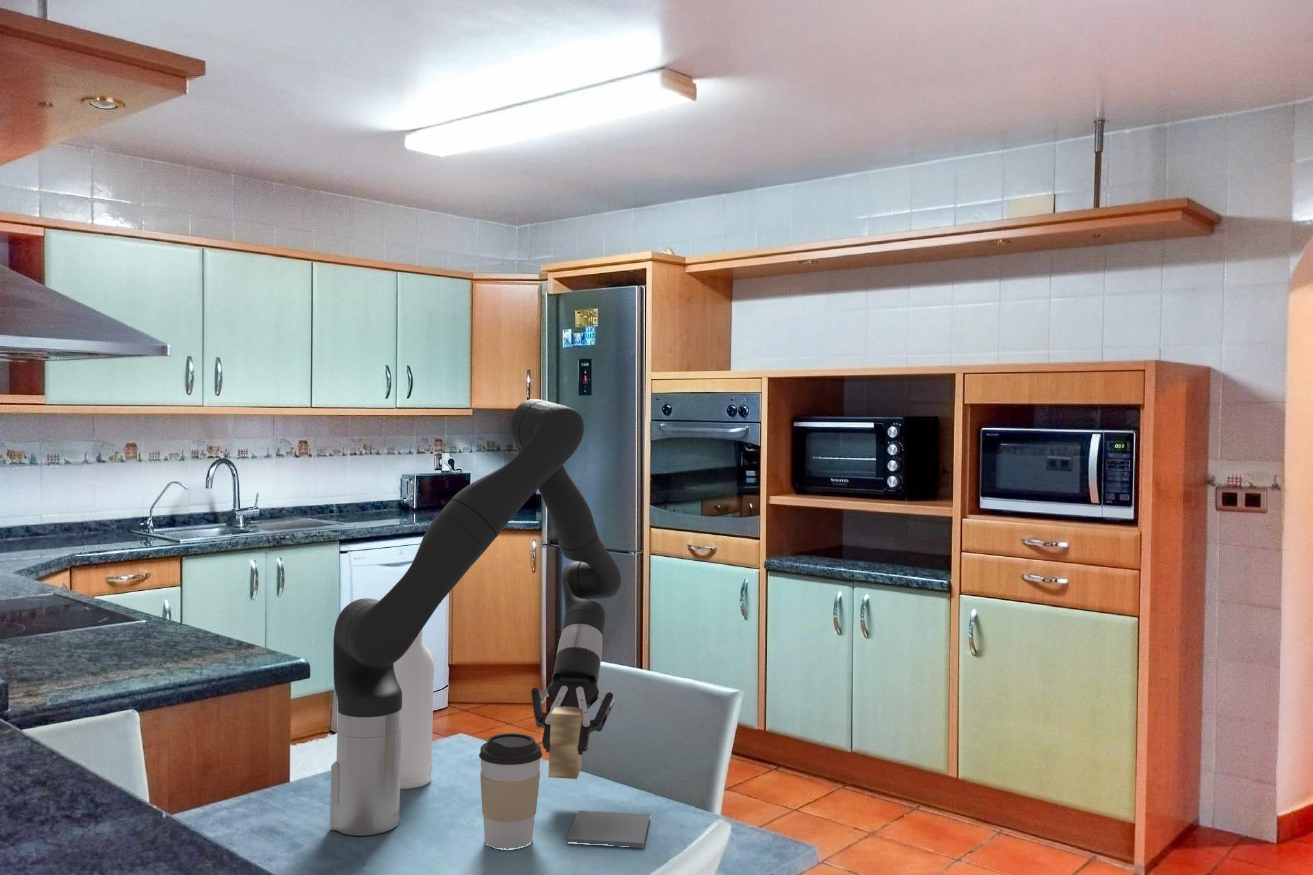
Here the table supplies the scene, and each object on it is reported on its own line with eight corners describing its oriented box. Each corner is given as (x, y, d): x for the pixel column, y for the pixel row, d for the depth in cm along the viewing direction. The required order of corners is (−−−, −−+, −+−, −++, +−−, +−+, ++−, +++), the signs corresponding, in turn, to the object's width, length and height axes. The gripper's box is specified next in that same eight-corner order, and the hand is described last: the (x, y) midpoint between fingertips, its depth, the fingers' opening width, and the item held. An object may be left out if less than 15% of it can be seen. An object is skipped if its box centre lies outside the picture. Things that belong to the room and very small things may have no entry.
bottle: (394, 771, 175) (398, 597, 175) (438, 774, 174) (443, 599, 174) (375, 787, 167) (380, 604, 167) (421, 791, 166) (426, 607, 166)
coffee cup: (510, 823, 153) (513, 724, 153) (553, 840, 147) (555, 736, 147) (463, 841, 146) (466, 737, 146) (506, 859, 140) (509, 751, 140)
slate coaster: (567, 844, 146) (567, 838, 146) (578, 815, 157) (578, 810, 157) (643, 848, 145) (643, 842, 145) (649, 819, 156) (649, 814, 156)
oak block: (548, 777, 159) (551, 713, 159) (553, 767, 164) (555, 705, 164) (576, 778, 159) (579, 714, 159) (581, 769, 163) (583, 707, 163)
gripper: (534, 642, 169) (516, 736, 157) (619, 647, 168) (608, 742, 156) (538, 667, 175) (521, 760, 162) (621, 672, 174) (610, 765, 161)
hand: (564, 750), depth 159 cm, fingers closed on oak block, 4 cm apart
